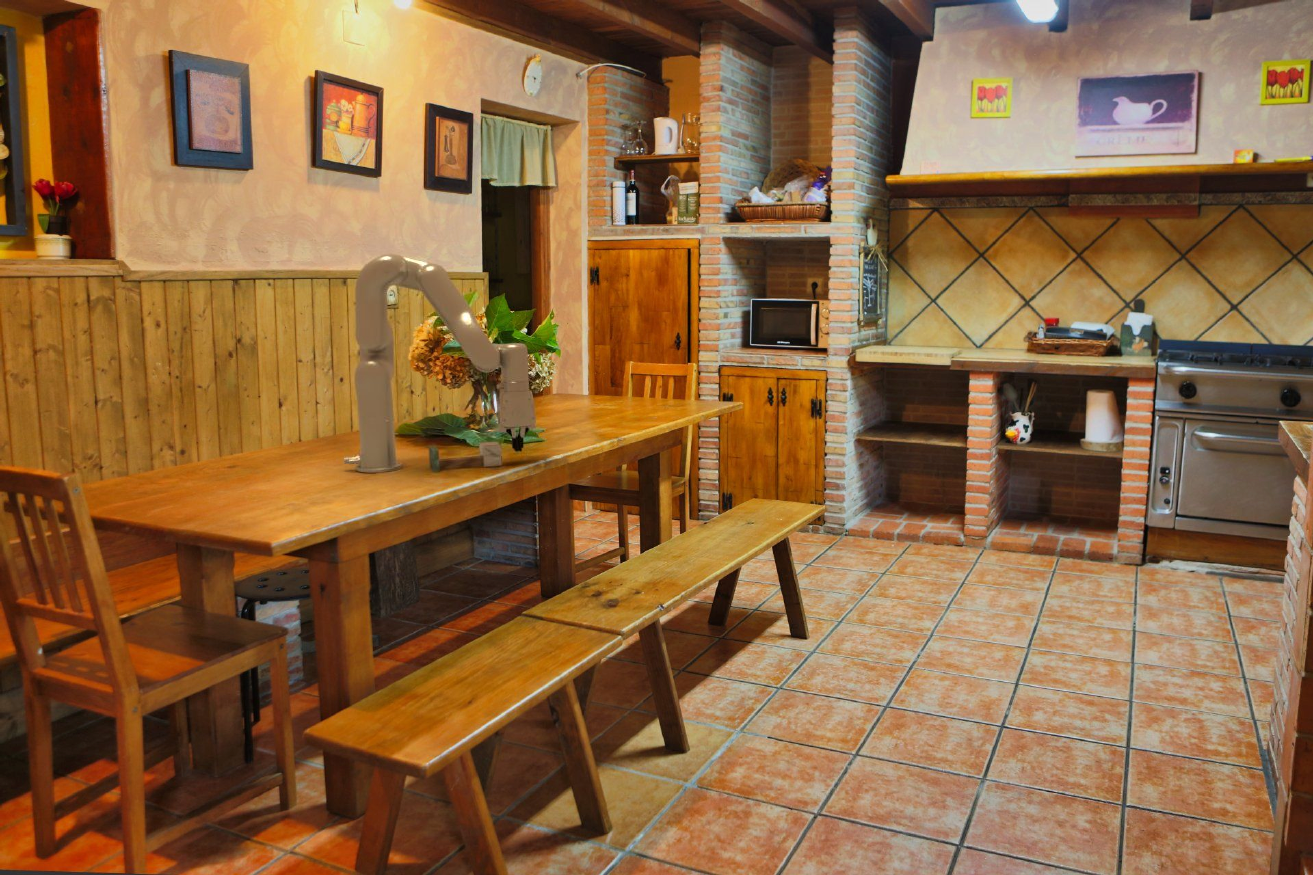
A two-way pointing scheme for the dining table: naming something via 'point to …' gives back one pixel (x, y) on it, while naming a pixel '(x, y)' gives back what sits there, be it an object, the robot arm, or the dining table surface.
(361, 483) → the dining table surface
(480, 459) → the rail
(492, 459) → the keeper
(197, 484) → the dining table surface
